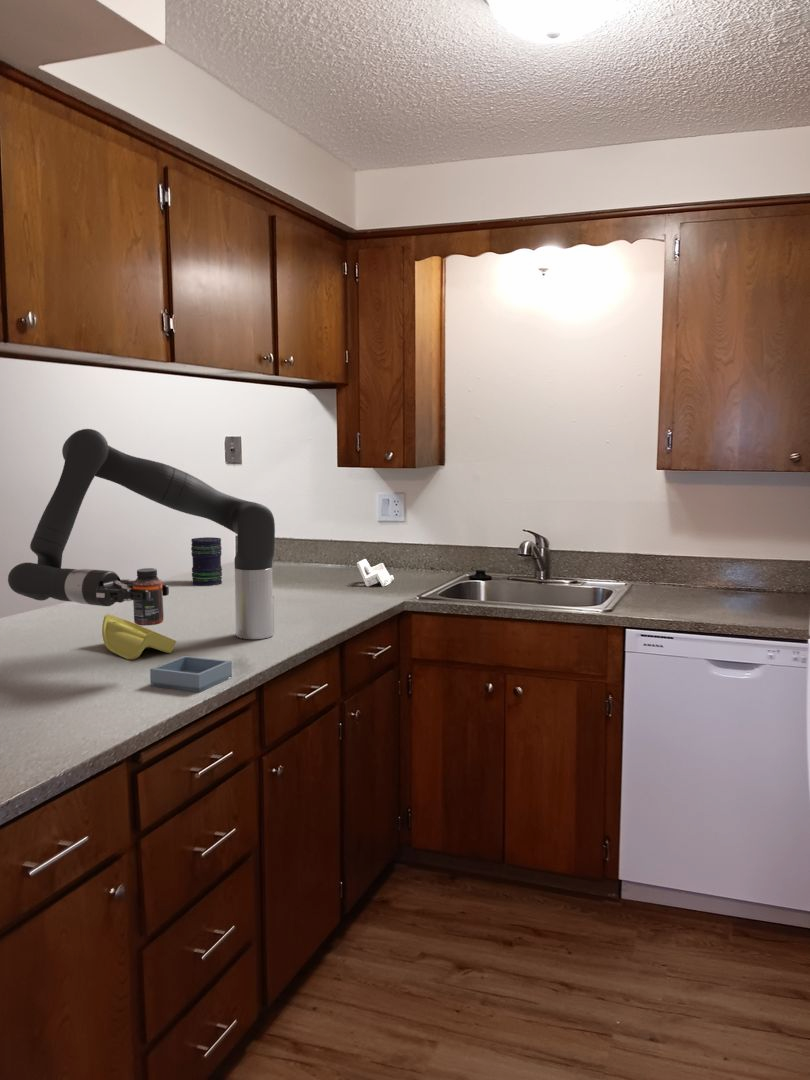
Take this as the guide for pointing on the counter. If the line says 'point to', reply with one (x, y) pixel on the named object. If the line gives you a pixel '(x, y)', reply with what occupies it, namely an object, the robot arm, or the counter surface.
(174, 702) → the counter surface
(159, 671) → the parts tray
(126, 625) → the plastic component
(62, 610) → the counter surface
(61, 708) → the counter surface
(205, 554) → the storage jar
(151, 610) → the supplement bottle
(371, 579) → the mounting bracket
